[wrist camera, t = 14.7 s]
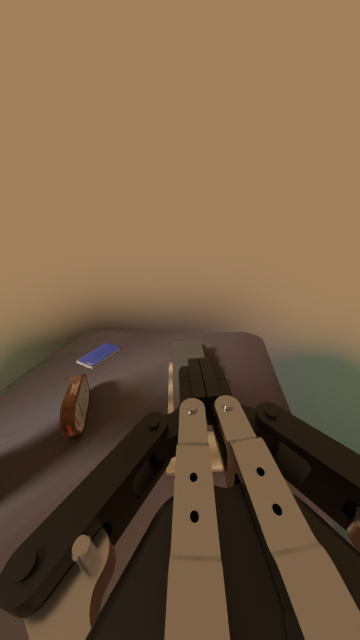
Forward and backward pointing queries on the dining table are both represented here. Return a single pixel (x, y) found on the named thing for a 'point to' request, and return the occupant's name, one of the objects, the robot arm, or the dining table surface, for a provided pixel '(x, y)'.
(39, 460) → the dining table surface
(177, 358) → the domino
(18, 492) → the dining table surface
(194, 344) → the domino
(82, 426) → the tin
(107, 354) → the blue notebook
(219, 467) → the board
